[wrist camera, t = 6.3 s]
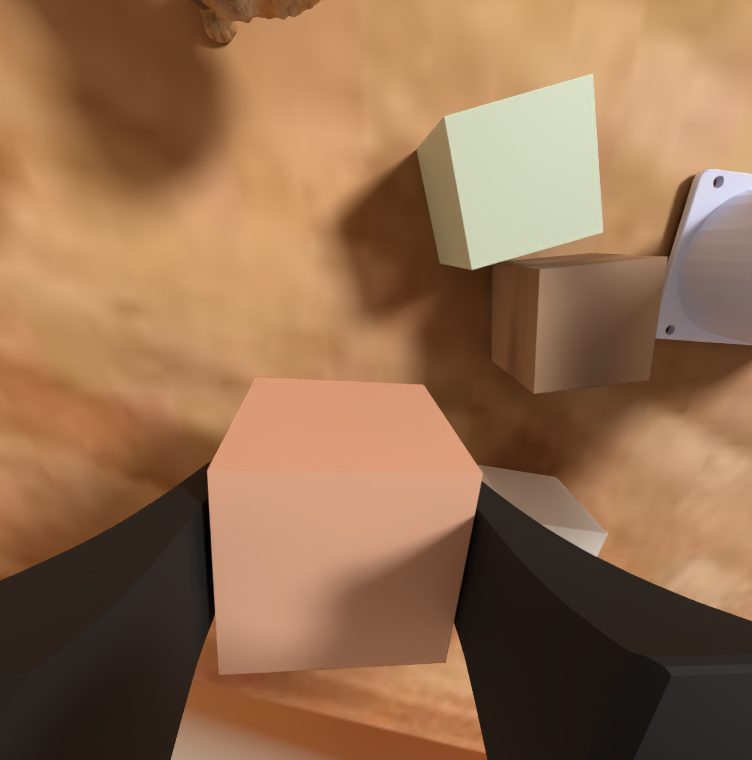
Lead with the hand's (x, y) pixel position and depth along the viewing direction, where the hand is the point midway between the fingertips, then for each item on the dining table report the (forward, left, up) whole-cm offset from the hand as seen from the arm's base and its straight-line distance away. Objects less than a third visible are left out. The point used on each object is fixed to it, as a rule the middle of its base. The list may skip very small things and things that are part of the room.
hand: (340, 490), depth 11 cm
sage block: (-6, -9, -10) cm, 15 cm away
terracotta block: (0, 0, -2) cm, 2 cm away
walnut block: (-10, -4, -10) cm, 15 cm away
